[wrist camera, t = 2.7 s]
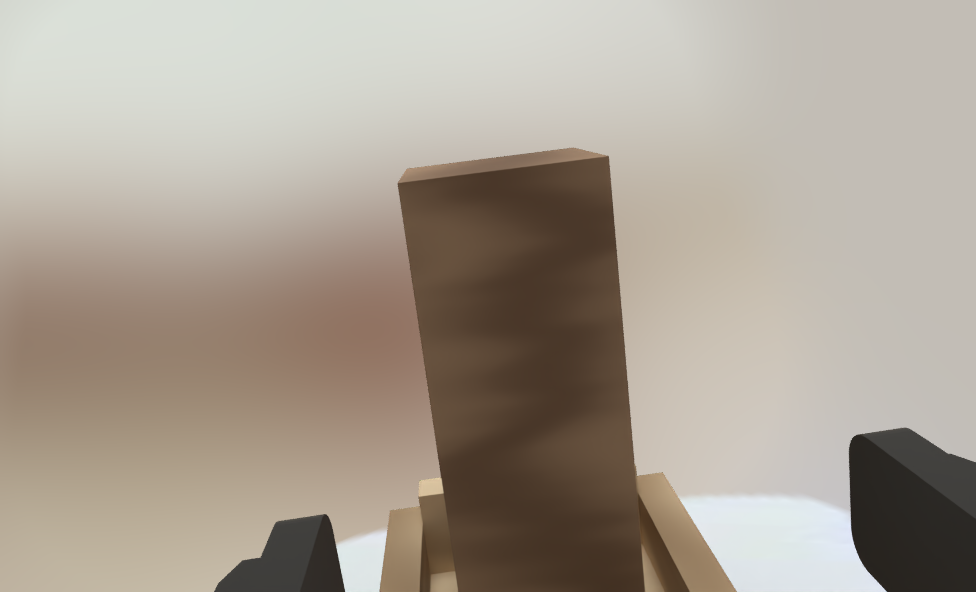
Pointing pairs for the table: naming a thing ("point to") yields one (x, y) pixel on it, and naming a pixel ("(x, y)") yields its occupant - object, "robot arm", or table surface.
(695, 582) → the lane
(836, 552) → the table surface
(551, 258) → the post
